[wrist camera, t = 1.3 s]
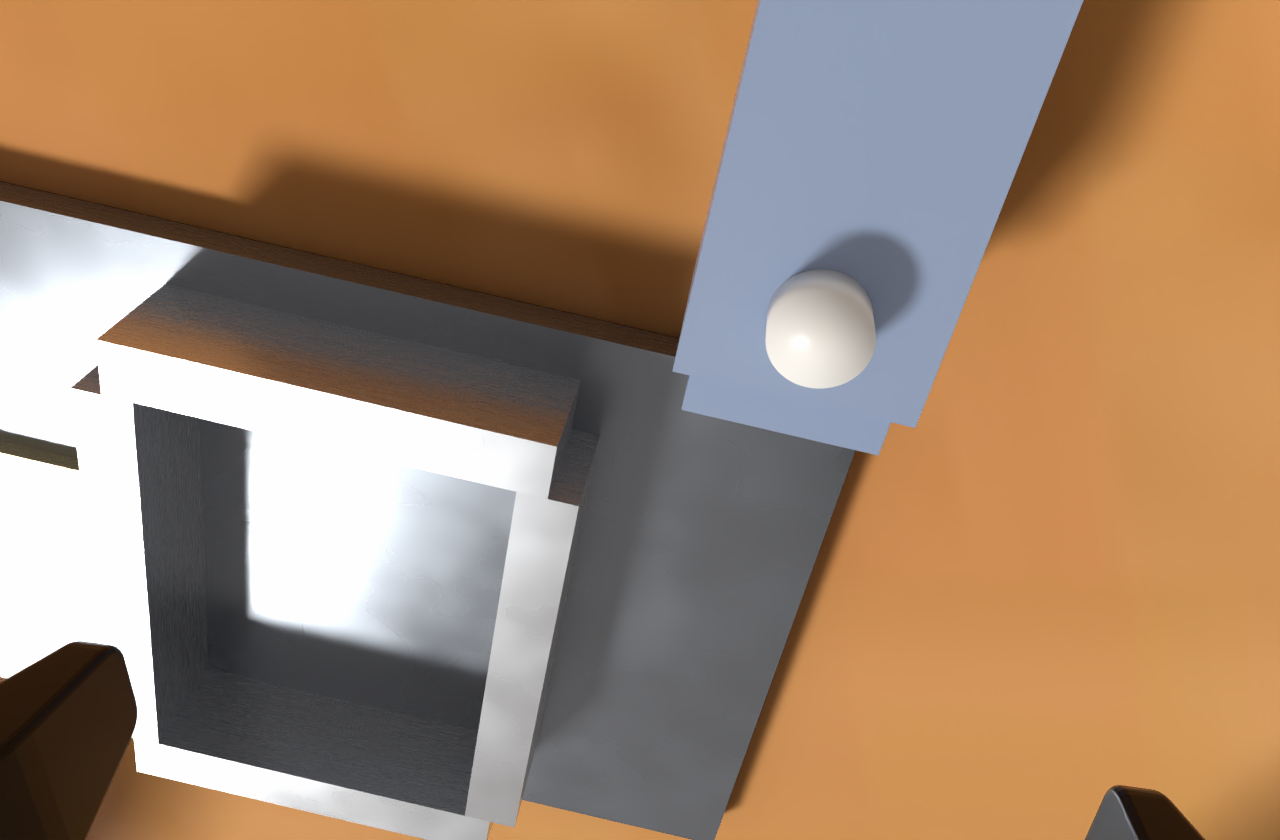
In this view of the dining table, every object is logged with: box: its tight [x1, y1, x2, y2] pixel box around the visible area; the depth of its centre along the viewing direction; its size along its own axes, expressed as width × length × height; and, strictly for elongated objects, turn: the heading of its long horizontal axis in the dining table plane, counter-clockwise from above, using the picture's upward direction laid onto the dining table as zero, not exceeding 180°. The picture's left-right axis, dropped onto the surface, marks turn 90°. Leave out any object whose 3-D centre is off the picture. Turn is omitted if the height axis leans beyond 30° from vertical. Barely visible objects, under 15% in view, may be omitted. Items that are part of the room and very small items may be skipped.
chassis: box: [0, 182, 856, 840], centre depth 24 cm, size 20×14×3 cm
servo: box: [672, 0, 1083, 455], centre depth 17 cm, size 4×9×5 cm, turn 169°
